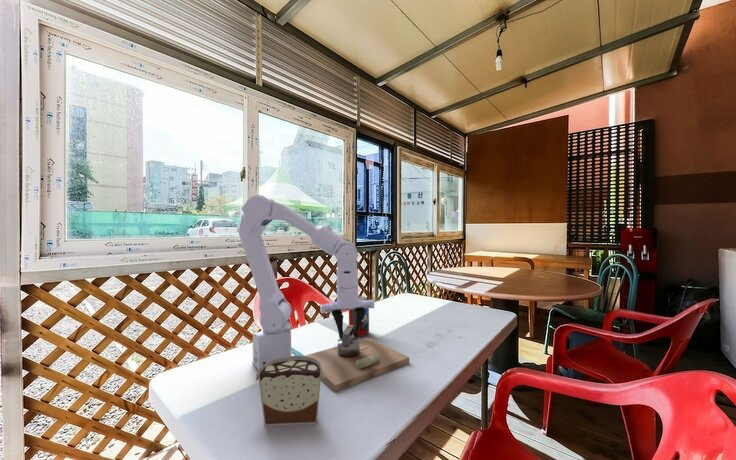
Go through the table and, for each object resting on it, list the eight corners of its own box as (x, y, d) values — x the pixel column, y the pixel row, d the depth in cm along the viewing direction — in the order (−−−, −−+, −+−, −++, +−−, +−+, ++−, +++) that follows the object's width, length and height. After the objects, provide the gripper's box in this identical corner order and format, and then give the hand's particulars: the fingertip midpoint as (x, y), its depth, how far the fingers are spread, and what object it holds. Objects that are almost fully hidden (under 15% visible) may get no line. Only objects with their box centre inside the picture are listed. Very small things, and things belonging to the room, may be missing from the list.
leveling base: (335, 392, 62) (334, 375, 62) (301, 362, 77) (301, 349, 77) (409, 363, 75) (409, 349, 75) (368, 342, 90) (368, 331, 90)
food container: (328, 403, 59) (327, 353, 59) (325, 423, 52) (324, 367, 52) (266, 405, 58) (265, 355, 58) (255, 426, 52) (255, 370, 52)
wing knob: (356, 358, 75) (356, 334, 75) (334, 357, 76) (333, 333, 76) (361, 347, 82) (361, 325, 82) (340, 346, 83) (340, 324, 83)
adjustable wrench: (272, 342, 89) (288, 338, 93) (273, 345, 89) (288, 341, 93) (293, 357, 79) (310, 351, 82) (294, 360, 79) (310, 355, 82)
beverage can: (369, 337, 94) (368, 300, 94) (348, 337, 94) (347, 300, 94) (369, 330, 101) (368, 295, 101) (349, 330, 101) (349, 295, 101)
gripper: (368, 282, 85) (369, 328, 85) (318, 285, 80) (319, 335, 80) (376, 286, 78) (377, 337, 78) (322, 290, 74) (323, 344, 74)
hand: (348, 336), depth 79 cm, fingers closed on wing knob, 3 cm apart
